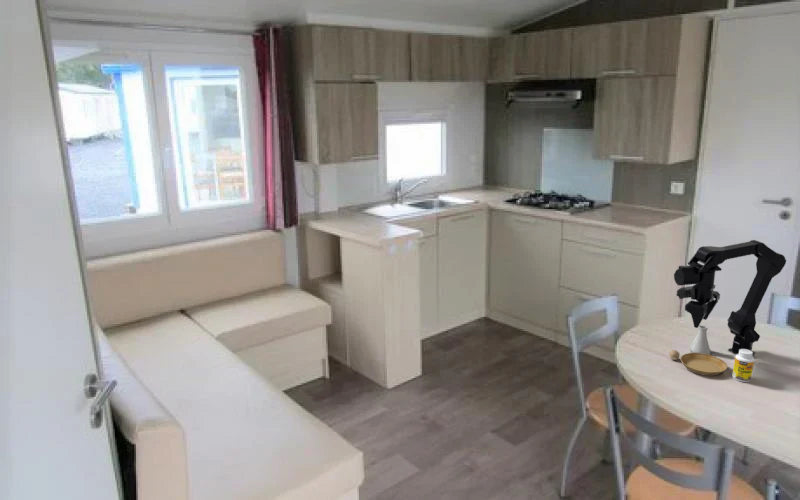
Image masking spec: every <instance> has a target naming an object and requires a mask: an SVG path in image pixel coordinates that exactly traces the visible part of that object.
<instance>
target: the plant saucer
mask: <svg viewBox="0 0 800 500" xmlns="http://www.w3.org/2000/svg"><path fill="white" fill-rule="evenodd" d="M679 359H680V362H681V363H682V365H683V366H684V367H685V368H686V369H687V370H689V371H690V372H692V373H695V374H698V375H702V376H717V375H719V374H721V373H723V372H725V371H726V370H727V369H728V364H727V362H725V361H724V360H723V359H721V358H719V357H717V356H714V355H712V354H710V355H708V354H703V353H693V352H689V353H684V354H682V355H681V356H680V357H679Z"/></svg>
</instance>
